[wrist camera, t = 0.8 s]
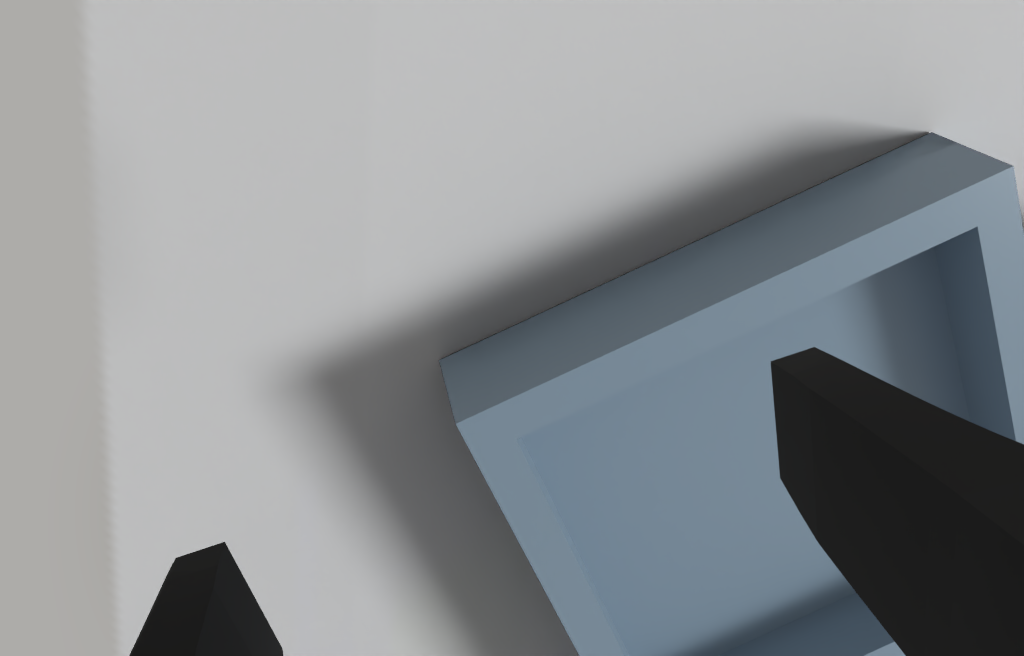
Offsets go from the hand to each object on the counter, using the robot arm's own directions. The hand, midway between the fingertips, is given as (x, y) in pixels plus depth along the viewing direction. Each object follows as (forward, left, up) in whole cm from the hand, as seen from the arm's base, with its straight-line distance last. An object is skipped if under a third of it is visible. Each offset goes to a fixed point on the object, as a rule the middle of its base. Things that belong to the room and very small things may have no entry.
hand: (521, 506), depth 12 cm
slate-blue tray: (-10, -5, -11) cm, 15 cm away
